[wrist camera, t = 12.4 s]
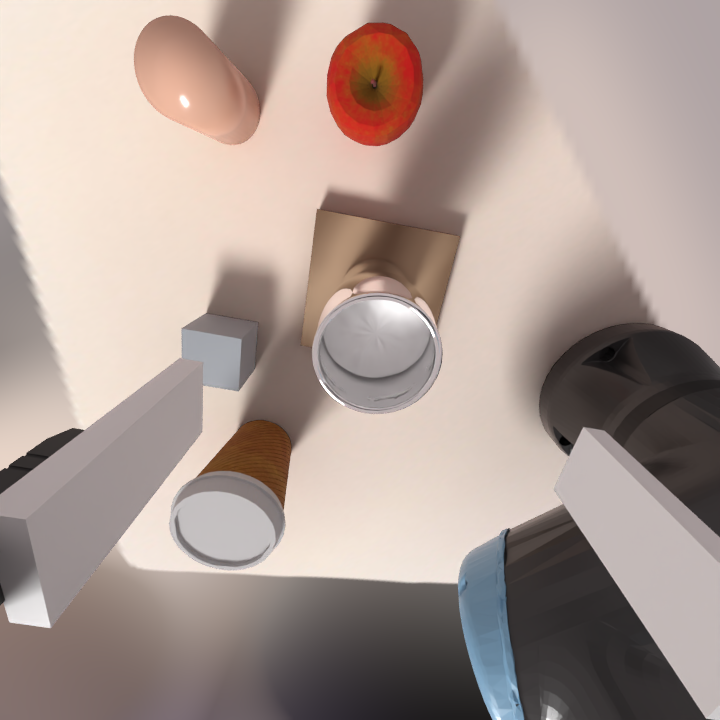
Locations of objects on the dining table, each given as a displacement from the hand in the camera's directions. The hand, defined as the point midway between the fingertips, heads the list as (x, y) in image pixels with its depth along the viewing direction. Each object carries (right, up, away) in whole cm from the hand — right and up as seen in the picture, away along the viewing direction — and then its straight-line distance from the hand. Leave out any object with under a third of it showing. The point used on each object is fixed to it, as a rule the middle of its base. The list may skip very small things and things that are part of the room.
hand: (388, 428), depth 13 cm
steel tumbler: (0, +8, +20) cm, 21 cm away
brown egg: (-11, +22, +16) cm, 29 cm away
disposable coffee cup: (-12, -7, +28) cm, 31 cm away
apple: (0, +22, +16) cm, 27 cm away
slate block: (-14, +4, +23) cm, 27 cm away
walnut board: (0, +9, +21) cm, 23 cm away
